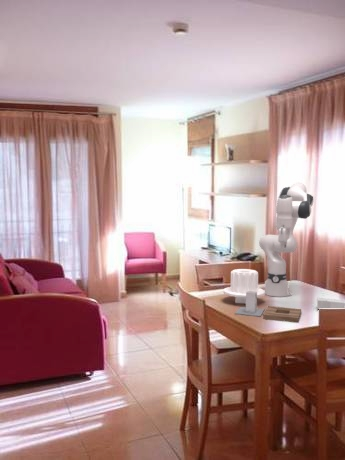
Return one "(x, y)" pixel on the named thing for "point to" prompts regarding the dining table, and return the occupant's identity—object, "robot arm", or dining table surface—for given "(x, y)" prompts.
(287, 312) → the walnut socket block
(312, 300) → the dining table surface
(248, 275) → the ribbed cylinder on disc
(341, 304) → the skincare box
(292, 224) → the robot arm
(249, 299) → the steel plug
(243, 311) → the slate mat
